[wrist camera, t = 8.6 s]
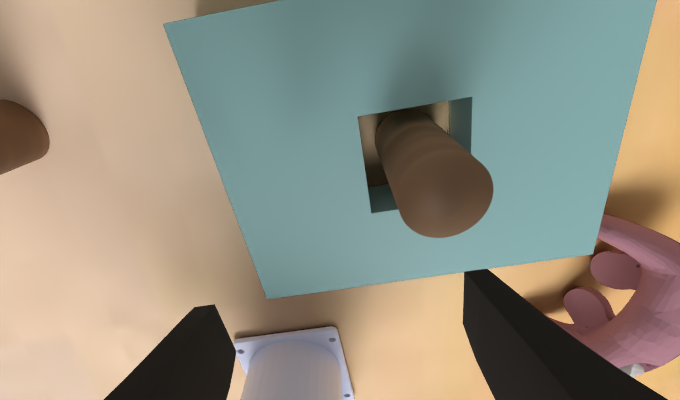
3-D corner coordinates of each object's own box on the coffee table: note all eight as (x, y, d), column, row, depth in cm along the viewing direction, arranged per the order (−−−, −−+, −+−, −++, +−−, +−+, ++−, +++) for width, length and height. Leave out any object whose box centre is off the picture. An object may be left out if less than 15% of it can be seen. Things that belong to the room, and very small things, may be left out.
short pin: (435, 162, 17) (490, 231, 11) (378, 170, 18) (401, 243, 11) (434, 103, 16) (497, 146, 10) (372, 113, 16) (394, 162, 10)
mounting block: (557, 224, 19) (592, 254, 17) (275, 265, 21) (267, 299, 18) (607, -57, 13) (677, -81, 10) (194, 26, 14) (162, 23, 12)
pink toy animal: (538, 308, 25) (639, 392, 20) (504, 321, 23) (608, 419, 18) (614, 202, 21) (770, 273, 15) (581, 204, 18) (751, 290, 13)
